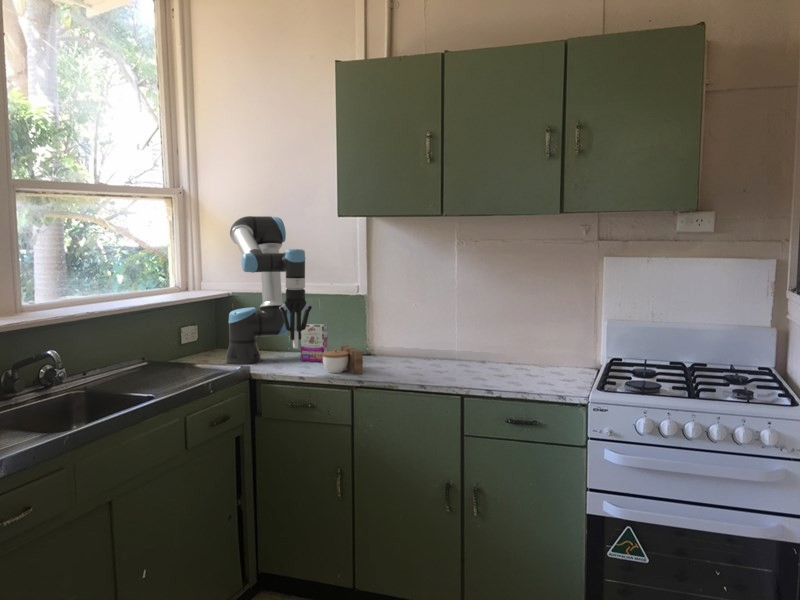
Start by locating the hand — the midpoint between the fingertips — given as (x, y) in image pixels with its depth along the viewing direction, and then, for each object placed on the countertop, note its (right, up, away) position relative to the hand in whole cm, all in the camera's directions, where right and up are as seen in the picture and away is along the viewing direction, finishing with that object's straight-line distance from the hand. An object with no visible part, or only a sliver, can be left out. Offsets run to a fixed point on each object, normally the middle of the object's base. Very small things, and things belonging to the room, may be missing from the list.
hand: (295, 347), depth 257 cm
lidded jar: (+15, -10, +7) cm, 20 cm away
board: (+21, -10, +9) cm, 25 cm away
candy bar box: (+3, -8, +30) cm, 32 cm away
